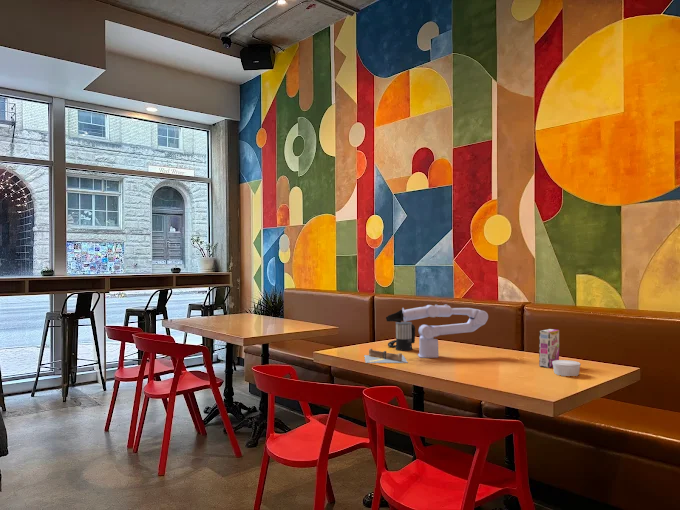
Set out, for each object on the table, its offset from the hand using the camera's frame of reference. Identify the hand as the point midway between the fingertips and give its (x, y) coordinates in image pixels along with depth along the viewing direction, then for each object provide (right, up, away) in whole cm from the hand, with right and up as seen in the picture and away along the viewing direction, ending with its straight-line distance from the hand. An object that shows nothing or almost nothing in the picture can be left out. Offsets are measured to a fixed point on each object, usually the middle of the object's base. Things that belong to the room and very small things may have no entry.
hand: (387, 318), depth 260 cm
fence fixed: (-5, -19, -2) cm, 20 cm away
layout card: (-2, -19, -6) cm, 20 cm away
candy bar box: (+73, -19, -22) cm, 78 cm away
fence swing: (+2, -19, -9) cm, 21 cm away
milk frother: (+9, -20, +25) cm, 34 cm away
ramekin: (+73, -19, -40) cm, 85 cm away
